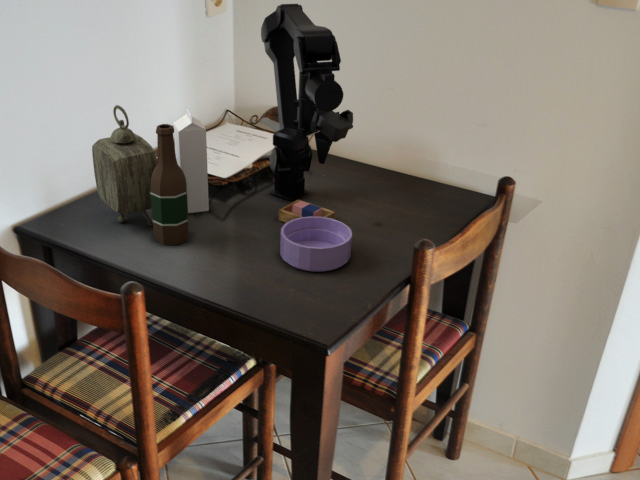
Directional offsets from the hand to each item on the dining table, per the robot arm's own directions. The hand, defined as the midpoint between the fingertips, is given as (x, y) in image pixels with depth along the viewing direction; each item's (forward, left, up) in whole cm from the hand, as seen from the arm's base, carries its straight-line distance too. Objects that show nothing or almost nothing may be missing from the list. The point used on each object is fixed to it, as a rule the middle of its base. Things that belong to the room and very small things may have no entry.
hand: (309, 169), depth 161 cm
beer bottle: (-17, -25, -12) cm, 33 cm away
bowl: (+11, -12, -12) cm, 20 cm away
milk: (-24, -11, -12) cm, 29 cm away
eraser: (0, 0, -12) cm, 12 cm away
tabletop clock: (-30, -25, -12) cm, 41 cm away
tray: (0, 0, -12) cm, 12 cm away
